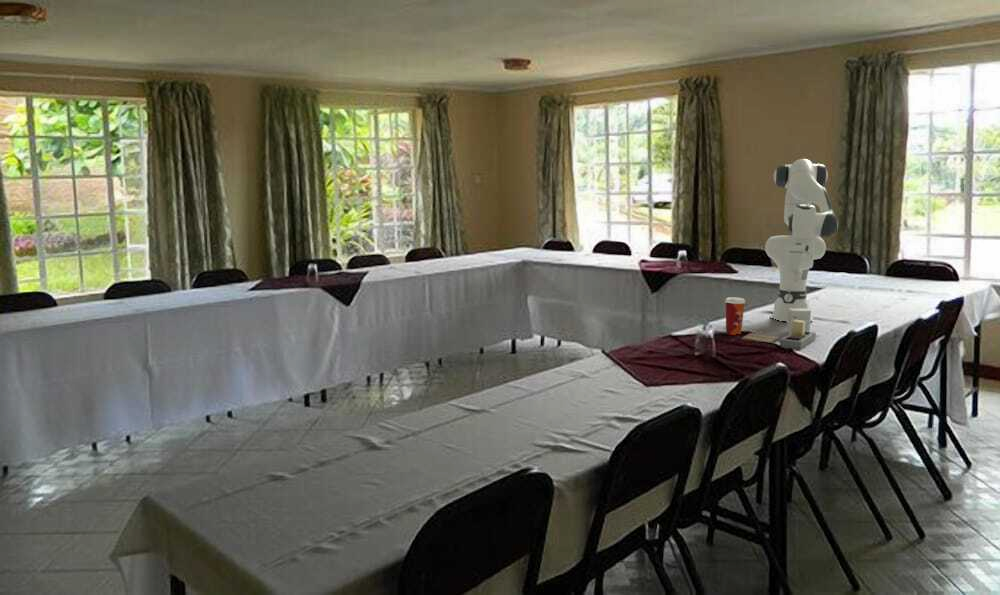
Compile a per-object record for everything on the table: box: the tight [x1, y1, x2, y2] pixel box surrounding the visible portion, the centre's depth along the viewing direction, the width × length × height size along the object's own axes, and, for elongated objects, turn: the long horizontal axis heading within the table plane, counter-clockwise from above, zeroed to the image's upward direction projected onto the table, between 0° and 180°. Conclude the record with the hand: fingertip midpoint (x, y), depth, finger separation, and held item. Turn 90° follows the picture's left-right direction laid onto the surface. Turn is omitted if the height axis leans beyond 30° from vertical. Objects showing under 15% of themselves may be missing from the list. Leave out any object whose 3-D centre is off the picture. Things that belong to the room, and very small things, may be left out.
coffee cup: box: [724, 296, 746, 336], centre depth 326 cm, size 8×8×15 cm
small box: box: [786, 308, 812, 334], centre depth 326 cm, size 8×6×10 cm
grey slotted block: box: [778, 331, 817, 351], centre depth 309 cm, size 22×8×3 cm, turn 144°
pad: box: [740, 332, 781, 344], centre depth 315 cm, size 12×12×1 cm
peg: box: [792, 320, 806, 338], centre depth 308 cm, size 4×4×9 cm
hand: (800, 281), depth 305 cm, fingers open, 8 cm apart
